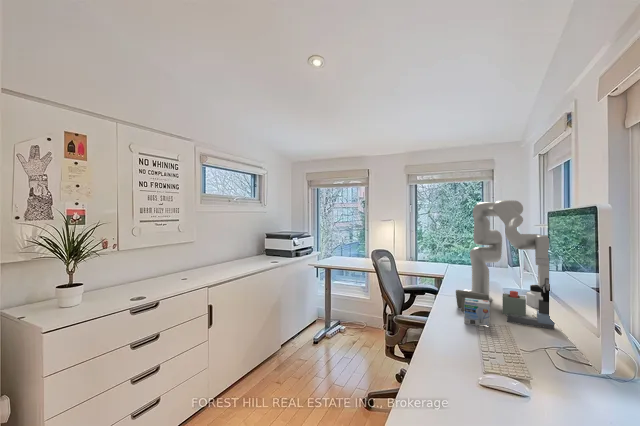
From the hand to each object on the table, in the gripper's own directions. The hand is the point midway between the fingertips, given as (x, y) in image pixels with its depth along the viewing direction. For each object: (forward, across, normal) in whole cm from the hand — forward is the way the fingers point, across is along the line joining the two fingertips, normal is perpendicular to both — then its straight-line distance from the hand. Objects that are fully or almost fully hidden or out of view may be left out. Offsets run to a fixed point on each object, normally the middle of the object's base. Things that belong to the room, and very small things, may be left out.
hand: (546, 299), depth 136 cm
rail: (+13, -1, -6) cm, 14 cm away
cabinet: (+12, -15, -12) cm, 23 cm away
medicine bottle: (+12, -37, -2) cm, 39 cm away
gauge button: (+5, -14, -12) cm, 20 cm away
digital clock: (+12, -8, -31) cm, 35 cm away
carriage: (+10, -1, 0) cm, 10 cm away
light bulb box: (+13, +11, -28) cm, 32 cm away
